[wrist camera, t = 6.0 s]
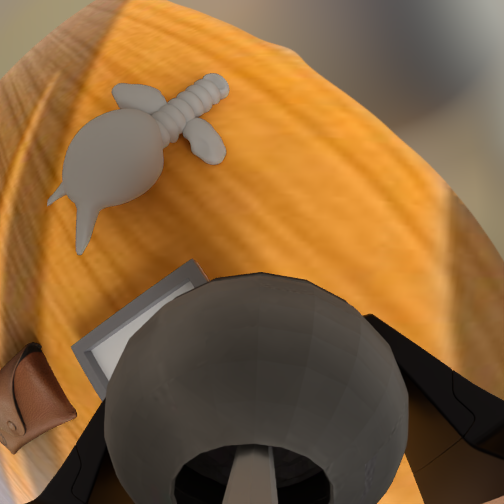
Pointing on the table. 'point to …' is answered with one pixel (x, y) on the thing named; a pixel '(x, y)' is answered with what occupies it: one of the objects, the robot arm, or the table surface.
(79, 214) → the toy creature
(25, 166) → the table surface
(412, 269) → the table surface
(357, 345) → the beverage cup
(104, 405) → the robot arm
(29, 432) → the sunglasses case
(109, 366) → the tray
